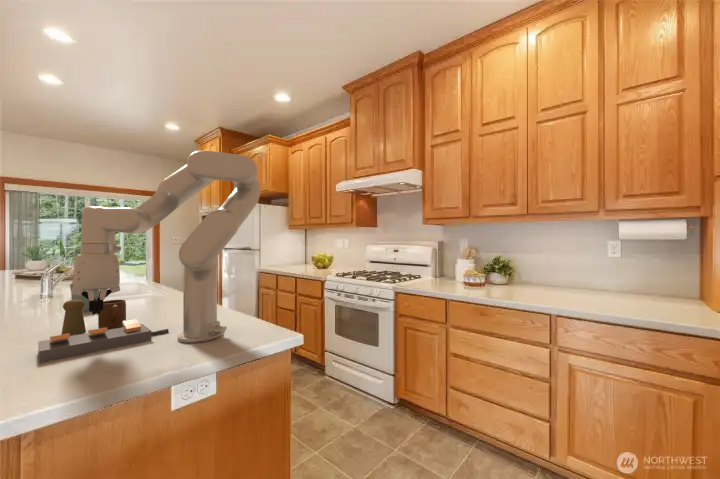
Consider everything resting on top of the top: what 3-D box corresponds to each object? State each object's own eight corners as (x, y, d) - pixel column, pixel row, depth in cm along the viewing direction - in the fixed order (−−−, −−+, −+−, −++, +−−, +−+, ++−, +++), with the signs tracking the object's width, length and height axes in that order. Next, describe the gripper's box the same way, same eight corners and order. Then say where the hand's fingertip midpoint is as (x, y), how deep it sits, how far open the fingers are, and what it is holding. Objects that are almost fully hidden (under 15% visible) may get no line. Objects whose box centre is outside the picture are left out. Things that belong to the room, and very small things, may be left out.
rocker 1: (68, 340, 88) (67, 333, 88) (69, 340, 84) (69, 333, 84) (50, 343, 85) (50, 336, 85) (51, 343, 81) (51, 336, 81)
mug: (130, 331, 105) (130, 303, 105) (101, 336, 100) (101, 306, 100) (123, 324, 113) (123, 298, 113) (96, 328, 108) (96, 301, 108)
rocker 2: (136, 324, 99) (136, 318, 99) (140, 331, 95) (141, 326, 95) (122, 326, 97) (122, 321, 97) (126, 334, 93) (126, 328, 93)
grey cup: (96, 306, 144) (96, 280, 143) (103, 309, 138) (103, 282, 138) (67, 310, 135) (67, 283, 135) (73, 313, 129) (73, 285, 129)
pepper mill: (71, 330, 105) (71, 298, 105) (90, 330, 106) (90, 298, 106) (55, 336, 99) (55, 302, 99) (76, 335, 100) (76, 301, 100)
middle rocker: (104, 333, 93) (104, 327, 94) (107, 333, 89) (107, 327, 90) (88, 336, 91) (88, 330, 91) (91, 336, 87) (91, 330, 87)
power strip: (163, 329, 107) (163, 320, 107) (173, 335, 100) (173, 326, 100) (38, 352, 85) (38, 341, 85) (39, 363, 78) (39, 351, 78)
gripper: (127, 249, 97) (125, 308, 97) (61, 249, 86) (58, 315, 86) (132, 250, 92) (130, 312, 92) (63, 250, 81) (60, 320, 81)
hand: (95, 313), depth 89 cm, fingers closed
